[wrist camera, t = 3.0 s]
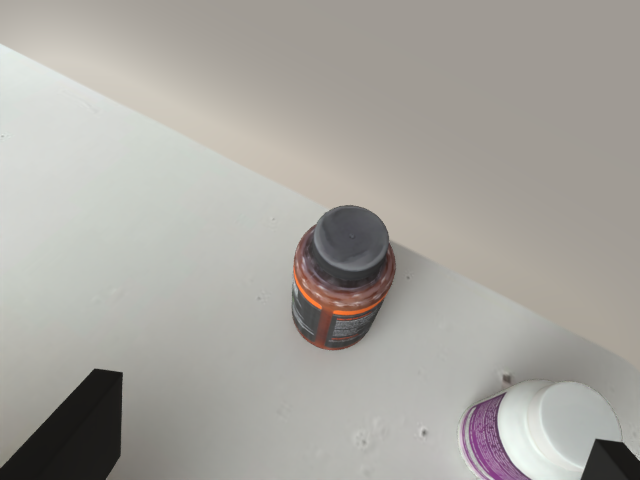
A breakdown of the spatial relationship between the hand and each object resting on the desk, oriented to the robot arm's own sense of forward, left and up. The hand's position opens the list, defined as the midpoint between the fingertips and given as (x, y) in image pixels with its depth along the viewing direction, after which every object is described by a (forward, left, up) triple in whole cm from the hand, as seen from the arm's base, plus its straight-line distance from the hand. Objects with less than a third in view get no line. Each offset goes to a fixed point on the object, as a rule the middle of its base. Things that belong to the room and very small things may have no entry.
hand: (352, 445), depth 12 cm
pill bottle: (-10, -7, -18) cm, 22 cm away
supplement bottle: (+4, -10, -18) cm, 21 cm away
